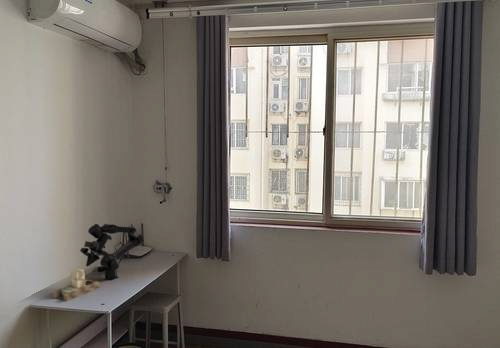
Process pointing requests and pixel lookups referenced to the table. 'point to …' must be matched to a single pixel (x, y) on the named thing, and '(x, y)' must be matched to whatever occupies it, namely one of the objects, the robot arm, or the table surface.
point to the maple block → (78, 278)
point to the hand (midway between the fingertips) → (87, 266)
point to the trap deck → (75, 290)
